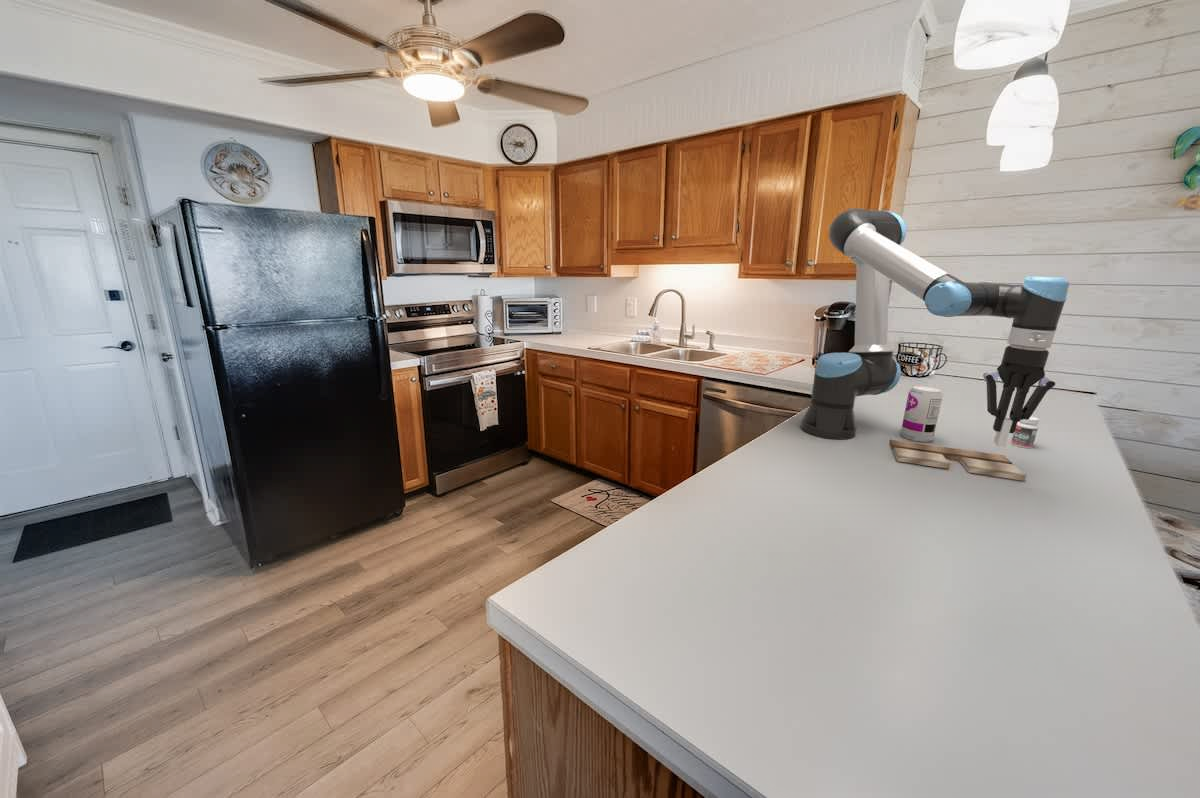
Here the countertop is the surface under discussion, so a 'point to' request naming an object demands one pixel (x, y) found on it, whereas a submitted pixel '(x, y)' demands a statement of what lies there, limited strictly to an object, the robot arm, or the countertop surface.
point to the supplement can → (921, 413)
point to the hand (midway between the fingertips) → (999, 444)
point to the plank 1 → (921, 458)
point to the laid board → (949, 452)
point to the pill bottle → (1025, 433)
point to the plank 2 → (992, 468)
